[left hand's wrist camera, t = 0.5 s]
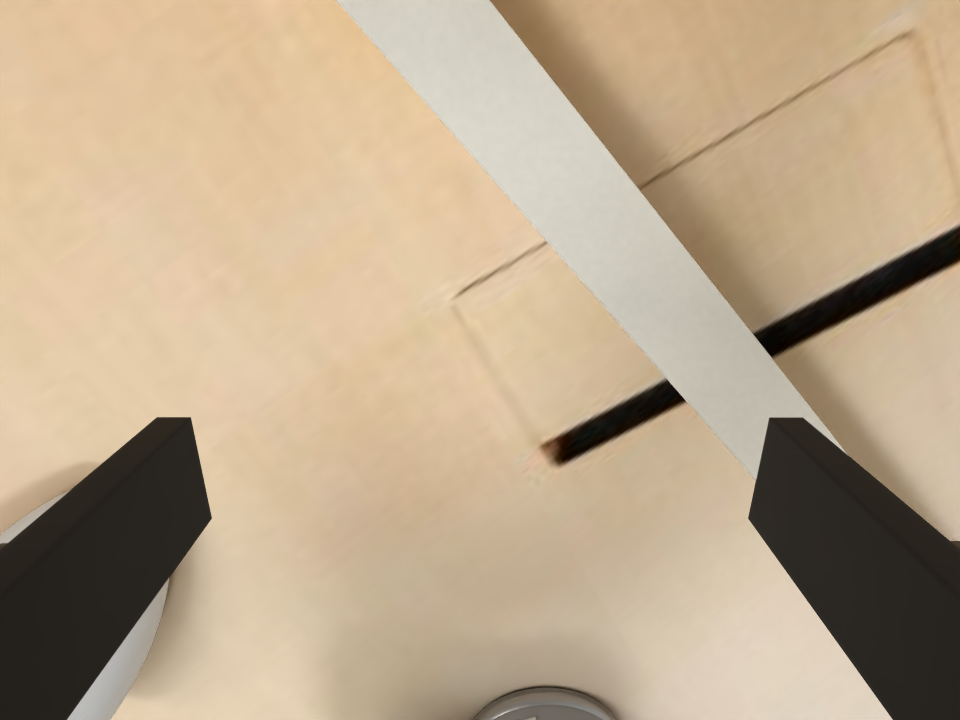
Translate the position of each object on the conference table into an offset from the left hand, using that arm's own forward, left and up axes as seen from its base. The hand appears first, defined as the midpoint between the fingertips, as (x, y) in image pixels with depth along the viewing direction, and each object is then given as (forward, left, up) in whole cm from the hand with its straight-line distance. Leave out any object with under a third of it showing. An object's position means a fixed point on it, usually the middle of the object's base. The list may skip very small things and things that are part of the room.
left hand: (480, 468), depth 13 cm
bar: (-3, -13, -26) cm, 29 cm away
